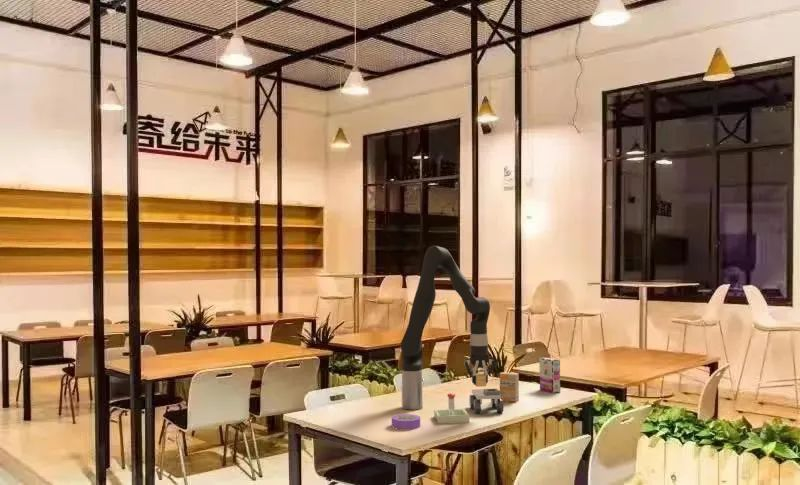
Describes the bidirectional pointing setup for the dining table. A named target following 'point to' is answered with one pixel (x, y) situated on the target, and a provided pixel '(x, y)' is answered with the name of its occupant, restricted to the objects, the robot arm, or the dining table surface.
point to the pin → (451, 403)
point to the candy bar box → (549, 374)
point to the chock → (480, 380)
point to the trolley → (486, 394)
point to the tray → (451, 416)
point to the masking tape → (406, 421)
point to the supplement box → (509, 386)
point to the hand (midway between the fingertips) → (479, 384)
